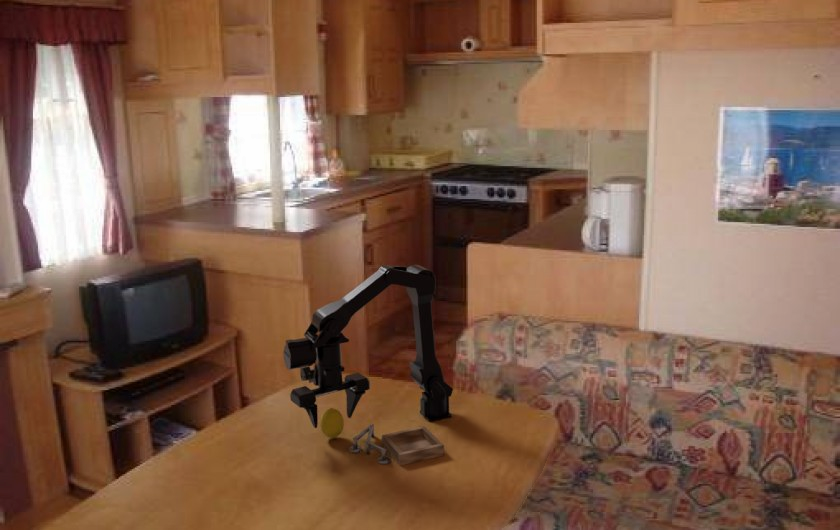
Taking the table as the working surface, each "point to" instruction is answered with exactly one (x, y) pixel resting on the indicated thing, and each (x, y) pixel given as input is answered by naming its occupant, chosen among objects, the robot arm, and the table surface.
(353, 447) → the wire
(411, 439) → the tray
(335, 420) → the lemon
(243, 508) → the table surface
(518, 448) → the table surface
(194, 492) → the table surface
